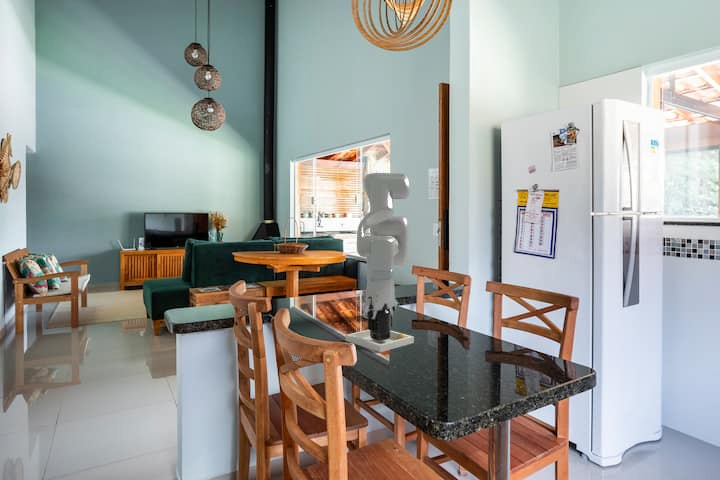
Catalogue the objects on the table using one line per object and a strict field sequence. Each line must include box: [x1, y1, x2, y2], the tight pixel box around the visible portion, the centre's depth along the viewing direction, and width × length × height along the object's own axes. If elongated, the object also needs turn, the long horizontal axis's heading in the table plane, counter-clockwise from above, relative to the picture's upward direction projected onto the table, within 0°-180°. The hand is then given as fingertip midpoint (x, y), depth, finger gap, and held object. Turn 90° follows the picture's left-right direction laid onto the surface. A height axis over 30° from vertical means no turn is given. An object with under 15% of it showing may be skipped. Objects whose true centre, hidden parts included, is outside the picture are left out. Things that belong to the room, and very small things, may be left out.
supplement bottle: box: [370, 303, 392, 340], centre depth 150 cm, size 7×7×12 cm
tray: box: [345, 329, 415, 353], centre depth 150 cm, size 16×16×3 cm
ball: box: [397, 332, 406, 340], centre depth 150 cm, size 3×3×3 cm
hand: (380, 328), depth 150 cm, fingers closed on supplement bottle, 6 cm apart
